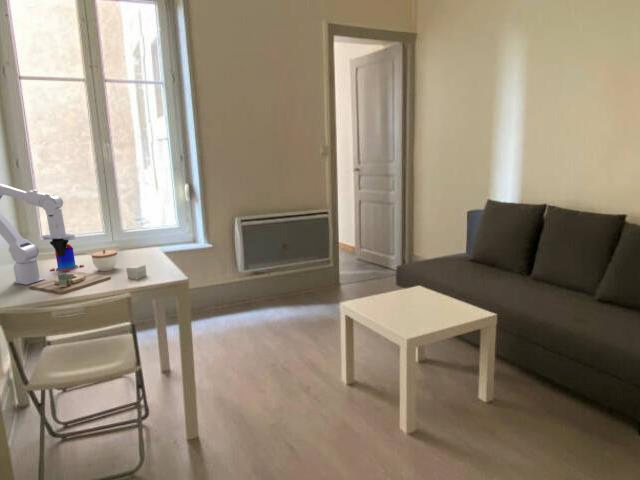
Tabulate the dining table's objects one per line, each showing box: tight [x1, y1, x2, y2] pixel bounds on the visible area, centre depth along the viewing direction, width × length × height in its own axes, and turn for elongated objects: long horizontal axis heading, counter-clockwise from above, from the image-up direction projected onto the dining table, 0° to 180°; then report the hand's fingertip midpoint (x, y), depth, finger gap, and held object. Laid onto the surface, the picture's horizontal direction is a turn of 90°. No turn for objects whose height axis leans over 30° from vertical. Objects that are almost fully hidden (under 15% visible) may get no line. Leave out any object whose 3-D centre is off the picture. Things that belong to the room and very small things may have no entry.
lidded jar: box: [90, 249, 118, 272], centre depth 211 cm, size 11×11×9 cm
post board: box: [27, 271, 112, 295], centre depth 191 cm, size 22×22×4 cm
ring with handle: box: [54, 272, 86, 287], centre depth 189 cm, size 15×11×5 cm
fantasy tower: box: [49, 243, 85, 273], centre depth 215 cm, size 12×12×12 cm
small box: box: [125, 264, 148, 280], centre depth 196 cm, size 6×6×5 cm
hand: (62, 256), depth 195 cm, fingers closed
